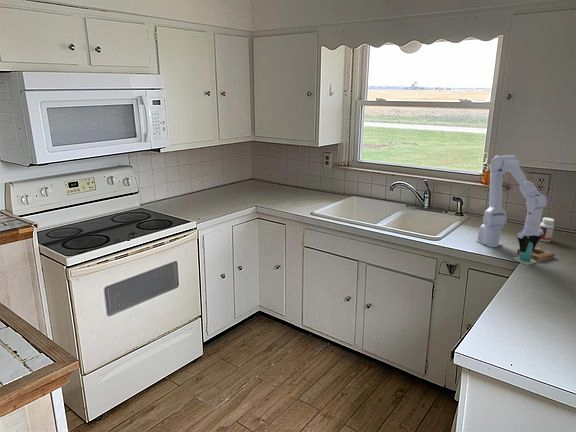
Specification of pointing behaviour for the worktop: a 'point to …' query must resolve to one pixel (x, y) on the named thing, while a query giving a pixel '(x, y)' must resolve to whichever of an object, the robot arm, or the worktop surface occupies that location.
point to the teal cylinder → (527, 253)
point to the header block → (540, 254)
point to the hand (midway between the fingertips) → (526, 250)
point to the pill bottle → (547, 229)
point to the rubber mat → (525, 261)
